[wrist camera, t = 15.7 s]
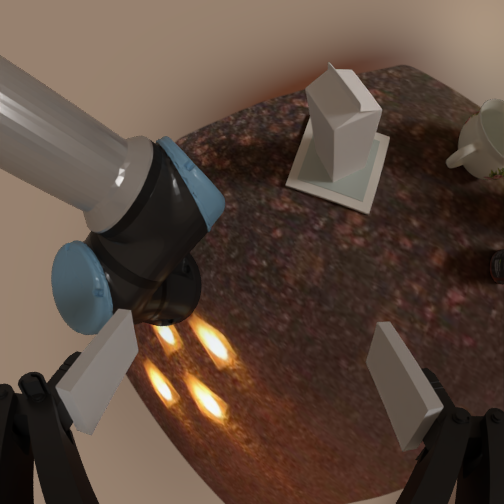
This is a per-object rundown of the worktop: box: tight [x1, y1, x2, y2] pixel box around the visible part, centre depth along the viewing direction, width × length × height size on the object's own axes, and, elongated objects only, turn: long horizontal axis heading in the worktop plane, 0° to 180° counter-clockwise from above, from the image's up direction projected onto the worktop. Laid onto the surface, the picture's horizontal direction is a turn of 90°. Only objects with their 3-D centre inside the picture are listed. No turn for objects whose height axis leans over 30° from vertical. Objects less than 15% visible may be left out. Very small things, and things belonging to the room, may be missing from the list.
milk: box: [305, 62, 382, 182], centre depth 34 cm, size 6×6×22 cm
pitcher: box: [446, 99, 504, 180], centre depth 33 cm, size 11×18×14 cm, turn 112°
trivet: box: [286, 118, 390, 215], centre depth 45 cm, size 14×14×1 cm
